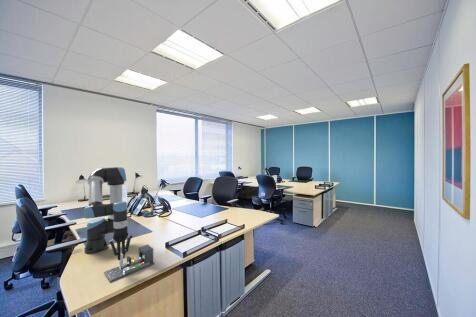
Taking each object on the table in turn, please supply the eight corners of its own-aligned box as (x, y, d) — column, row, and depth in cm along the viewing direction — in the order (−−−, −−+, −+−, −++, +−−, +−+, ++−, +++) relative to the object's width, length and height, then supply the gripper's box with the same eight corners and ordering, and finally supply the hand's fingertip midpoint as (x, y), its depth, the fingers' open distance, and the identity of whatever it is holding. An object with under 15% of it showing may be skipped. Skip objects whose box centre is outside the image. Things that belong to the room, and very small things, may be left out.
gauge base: (103, 273, 123) (103, 257, 123) (146, 257, 142) (146, 243, 142) (109, 282, 114) (109, 265, 114) (154, 264, 133) (154, 249, 133)
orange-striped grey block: (125, 264, 130) (125, 255, 130) (146, 257, 139) (146, 248, 139) (130, 269, 124) (130, 260, 124) (151, 261, 133) (151, 252, 133)
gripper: (110, 231, 116) (111, 271, 117) (133, 225, 126) (134, 262, 126) (106, 228, 121) (107, 266, 122) (129, 222, 131) (130, 258, 131)
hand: (121, 264), depth 124 cm, fingers closed
